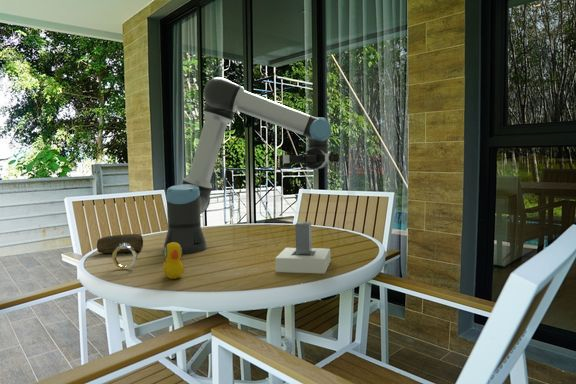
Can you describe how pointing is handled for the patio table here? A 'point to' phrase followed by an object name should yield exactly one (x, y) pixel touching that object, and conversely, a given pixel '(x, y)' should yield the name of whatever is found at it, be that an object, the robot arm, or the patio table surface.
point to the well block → (303, 261)
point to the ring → (124, 248)
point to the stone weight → (113, 242)
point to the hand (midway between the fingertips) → (304, 158)
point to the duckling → (173, 261)
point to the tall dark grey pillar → (303, 239)
